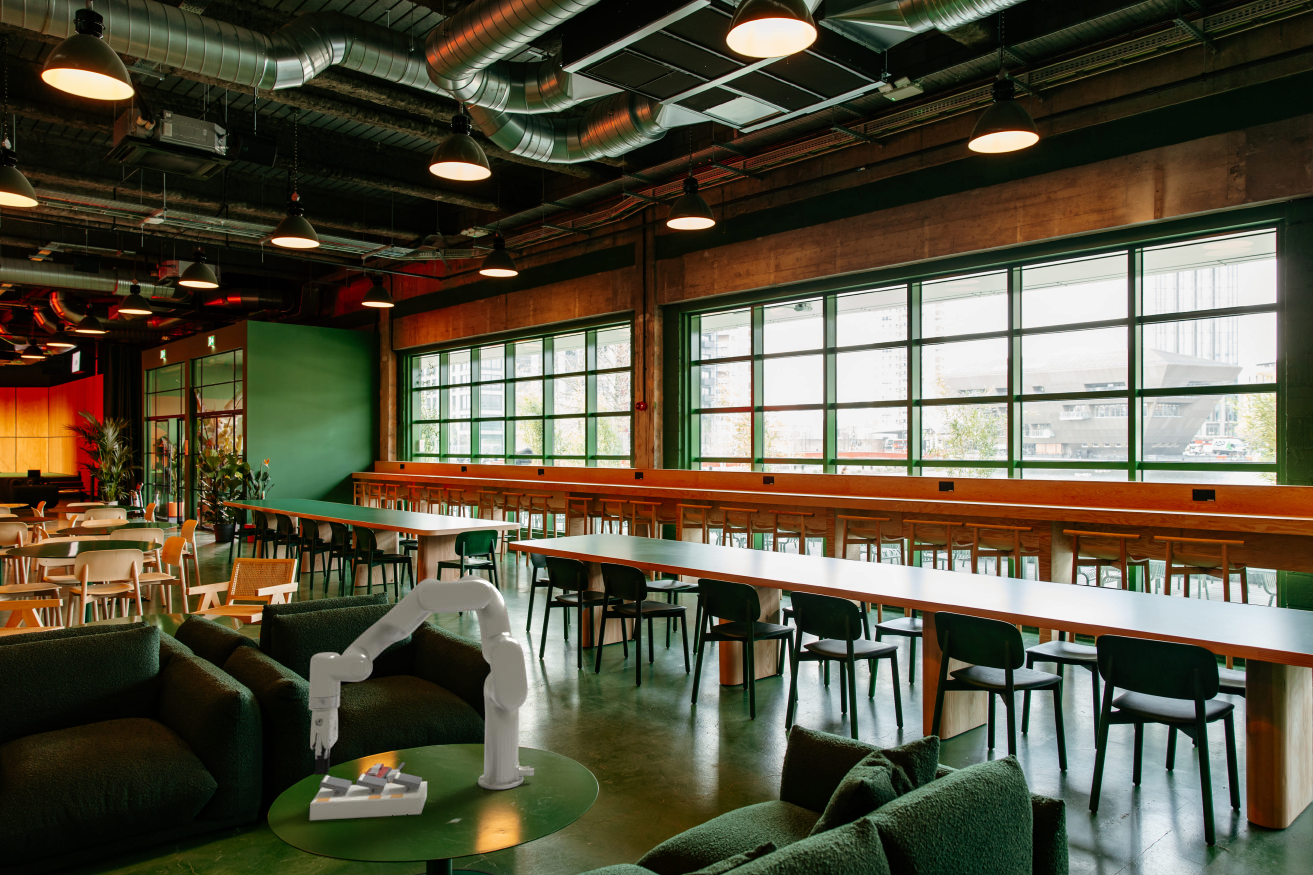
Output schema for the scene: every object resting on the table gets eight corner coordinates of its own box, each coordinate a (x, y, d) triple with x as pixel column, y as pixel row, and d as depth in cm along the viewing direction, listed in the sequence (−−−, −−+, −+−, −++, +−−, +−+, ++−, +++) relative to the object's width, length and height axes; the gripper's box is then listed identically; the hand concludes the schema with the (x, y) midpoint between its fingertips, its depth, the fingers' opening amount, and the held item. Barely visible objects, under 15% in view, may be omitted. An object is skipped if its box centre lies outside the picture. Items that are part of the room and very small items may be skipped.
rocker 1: (350, 785, 212) (352, 780, 212) (346, 792, 207) (348, 787, 207) (324, 779, 211) (325, 774, 211) (319, 786, 206) (320, 781, 206)
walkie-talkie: (386, 792, 221) (407, 767, 241) (386, 776, 221) (407, 752, 241) (354, 792, 220) (377, 767, 240) (354, 776, 221) (377, 752, 241)
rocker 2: (386, 783, 214) (387, 778, 214) (382, 790, 209) (384, 785, 209) (359, 777, 213) (361, 772, 213) (355, 784, 208) (357, 779, 208)
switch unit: (426, 796, 217) (427, 775, 218) (420, 813, 206) (421, 792, 206) (321, 801, 213) (322, 780, 213) (309, 819, 201) (310, 797, 202)
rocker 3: (421, 781, 215) (422, 776, 215) (418, 788, 210) (420, 783, 210) (395, 776, 214) (396, 771, 214) (392, 782, 209) (393, 777, 209)
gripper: (332, 708, 203) (330, 782, 202) (345, 693, 218) (343, 763, 217) (301, 709, 202) (298, 784, 201) (316, 694, 217) (314, 764, 216)
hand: (321, 773), depth 209 cm, fingers closed
